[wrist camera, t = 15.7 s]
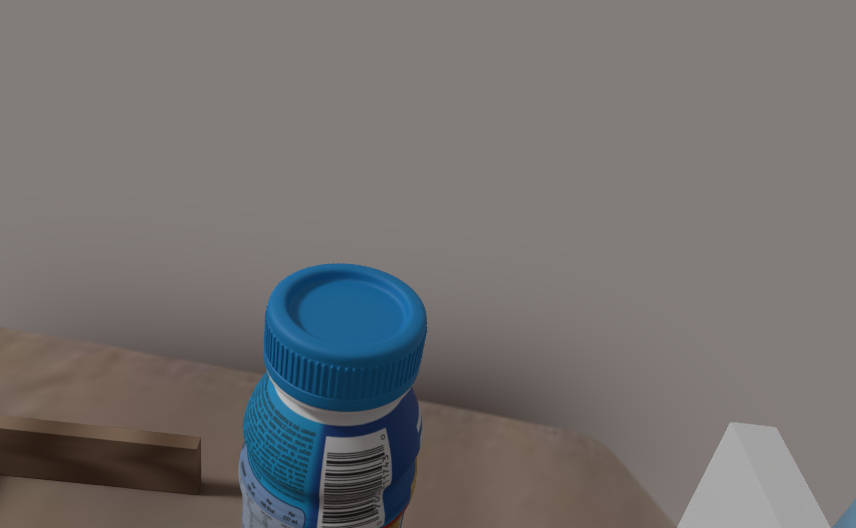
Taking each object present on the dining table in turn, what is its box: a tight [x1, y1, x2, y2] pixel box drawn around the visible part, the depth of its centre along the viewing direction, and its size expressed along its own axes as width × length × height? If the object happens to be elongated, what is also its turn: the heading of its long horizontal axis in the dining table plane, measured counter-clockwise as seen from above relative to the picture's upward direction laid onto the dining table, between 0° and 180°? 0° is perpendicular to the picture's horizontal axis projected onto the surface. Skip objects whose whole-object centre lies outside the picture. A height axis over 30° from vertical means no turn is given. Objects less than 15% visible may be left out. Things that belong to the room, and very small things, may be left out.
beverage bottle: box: [239, 264, 427, 528], centre depth 36 cm, size 8×8×20 cm
